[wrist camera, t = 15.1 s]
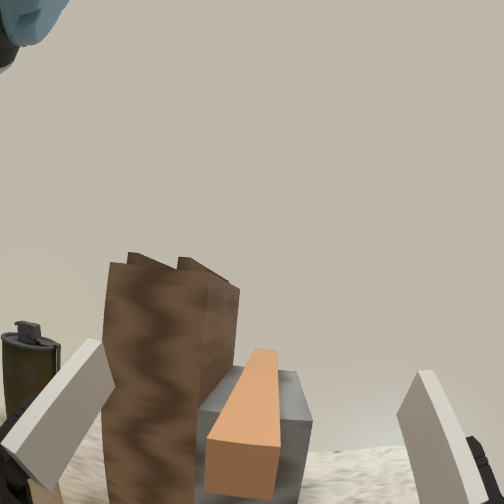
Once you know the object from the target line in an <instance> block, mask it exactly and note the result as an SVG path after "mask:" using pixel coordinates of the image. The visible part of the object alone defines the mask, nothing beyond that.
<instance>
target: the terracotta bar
mask: <svg viewBox="0 0 504 504" xmlns="http://www.w3.org/2000/svg"><path fill="white" fill-rule="evenodd" d="M280 448H281V440H280V411H279V386H278V363H277V351H275V350H264V349H254V351H253V353H252V355H251V357H250V359H249V361H248V363H247V365H246V367H245V369H244V370H243V372H242V374H241V376H240V378H239V380H238V382H237V384H236V386H235V387H234V389H233V391H232V393H231V395H230V397H229V399H228V400H227V402H226V404H225V406H224V408H223V410H222V411H221V413H220V415H219V417H218V419H217V420H216V422H215V424H214V426H213V428H212V429H211V431H210V433H209V435H208V437H207V439H206V456H205V474H204V492H209V493H215V494H221V495H228V496H235V497H244V498H253V499H265V500H272V498H273V492H274V486H275V480H276V474H277V468H278V462H279V455H280Z"/></svg>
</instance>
